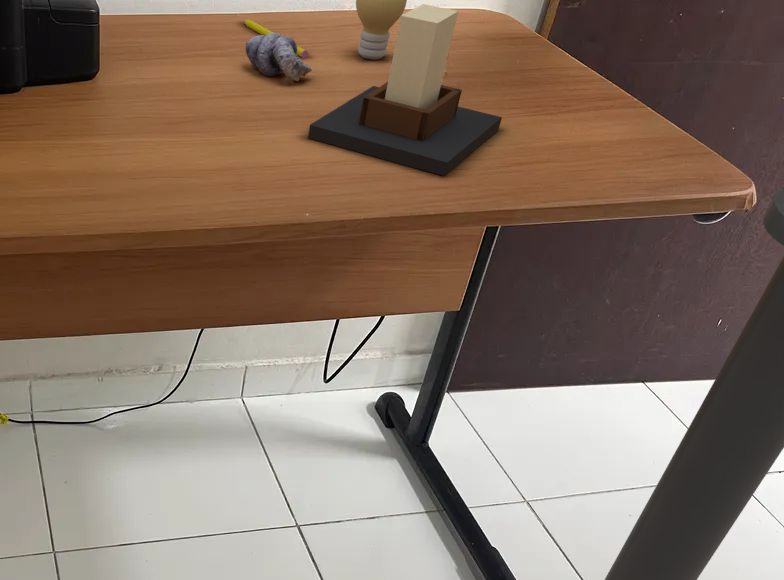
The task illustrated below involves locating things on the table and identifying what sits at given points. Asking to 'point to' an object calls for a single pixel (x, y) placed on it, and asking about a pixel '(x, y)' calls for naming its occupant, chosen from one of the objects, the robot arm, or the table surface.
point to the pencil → (265, 31)
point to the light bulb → (377, 25)
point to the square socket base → (407, 129)
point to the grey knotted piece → (276, 56)
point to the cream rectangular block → (420, 55)
